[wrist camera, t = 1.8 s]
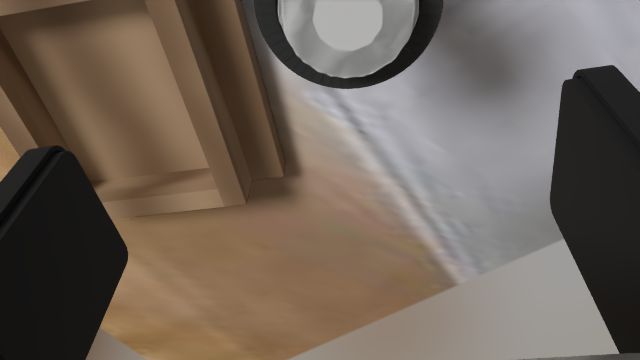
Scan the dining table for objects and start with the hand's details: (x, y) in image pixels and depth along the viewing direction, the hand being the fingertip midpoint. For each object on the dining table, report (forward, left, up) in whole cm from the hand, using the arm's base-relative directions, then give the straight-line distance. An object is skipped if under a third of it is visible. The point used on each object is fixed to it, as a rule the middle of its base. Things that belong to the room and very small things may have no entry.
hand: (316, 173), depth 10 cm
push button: (0, 0, -16) cm, 16 cm away
